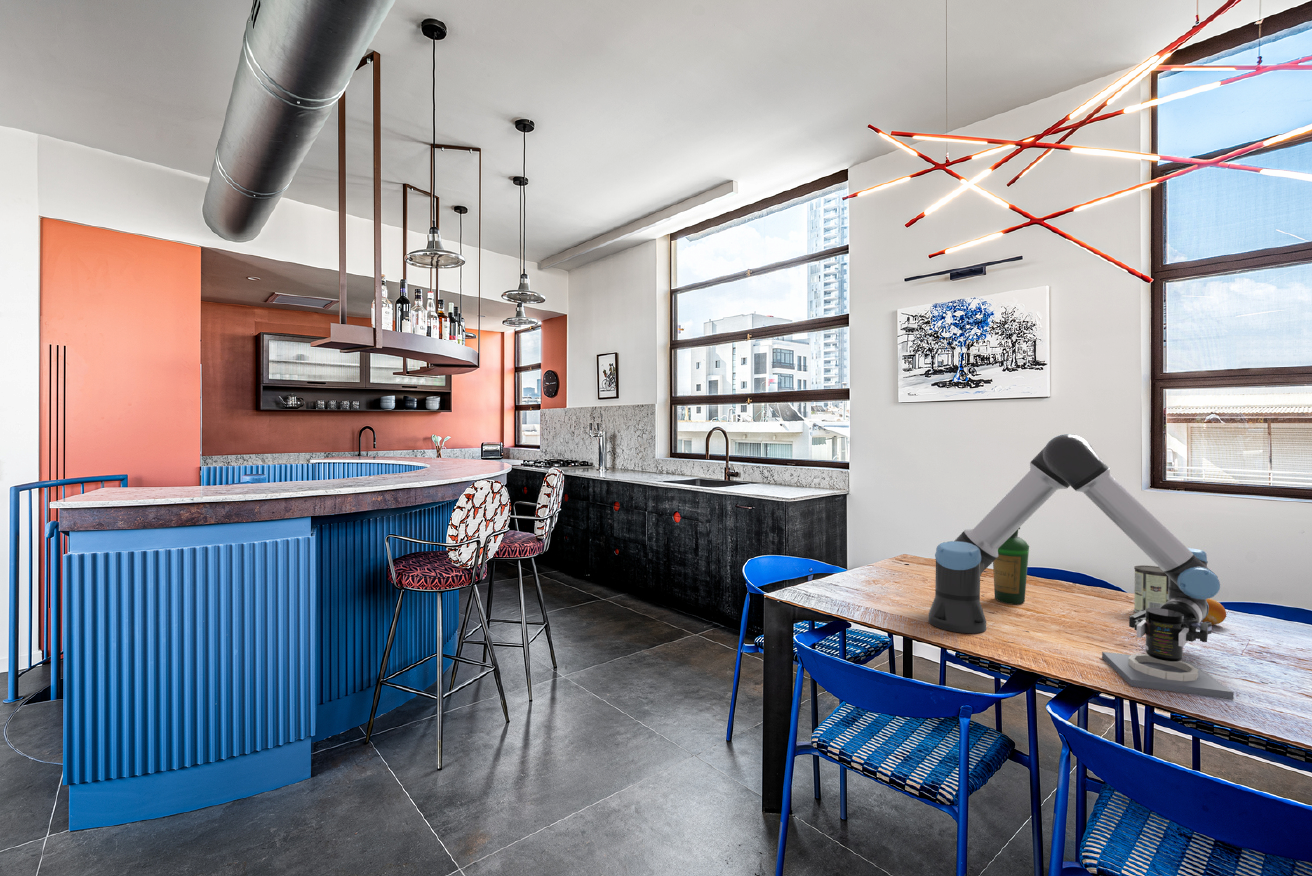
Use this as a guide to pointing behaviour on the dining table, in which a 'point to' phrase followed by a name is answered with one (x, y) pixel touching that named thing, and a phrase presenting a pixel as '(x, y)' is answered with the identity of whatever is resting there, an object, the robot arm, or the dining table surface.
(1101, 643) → the dining table surface
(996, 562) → the bottle
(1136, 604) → the coffee can
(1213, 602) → the fruit
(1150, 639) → the supplement container
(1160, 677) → the ring board
